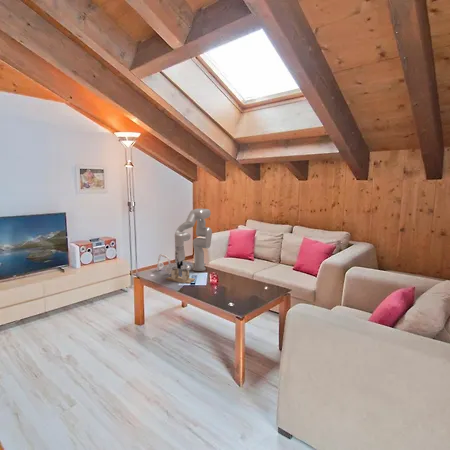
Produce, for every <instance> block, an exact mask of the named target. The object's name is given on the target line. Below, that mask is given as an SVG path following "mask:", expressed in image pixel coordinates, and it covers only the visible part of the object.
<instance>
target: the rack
mask: <svg viewBox="0 0 450 450" xmlns="http://www.w3.org/2000/svg"><path fill="white" fill-rule="evenodd" d="M179 270H180V269H176V268H172V270H171V274H170V276H169V277H166V278H165V281H169V282H175V283H182V284H187V285H188V284H191V283H193V282H195V281H196V278H195V277H194V278H193V277H190V270H189V271H186V270H184V269H182V271H181V276H180V273H179ZM194 280H195V281H194Z"/></svg>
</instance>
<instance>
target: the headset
mask: <svg viewBox="0 0 450 450" xmlns="http://www.w3.org/2000/svg"><path fill="white" fill-rule="evenodd" d="M161 257H163V258H167V263H168V264H170V263H171V260H170V257H169V256H168V255H166V254H165V253H164V254H163V253H161V254H159V256H158V258H157V259H158V261H157V264H156V267H157V269H156V272H159V271H160V270H163V268H164V262H162V261H161ZM164 269H165V273H167V275H168V276H169V275H170V276H171V270H172V268H170V267H169V265H167V266H165V268H164Z"/></svg>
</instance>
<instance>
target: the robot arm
mask: <svg viewBox="0 0 450 450" xmlns="http://www.w3.org/2000/svg"><path fill="white" fill-rule="evenodd" d="M211 214H212V213H211V210H210V209H209V208H194V209H192V210H190V212H189V214H188V215H187V218H186V219H185V222H183V223H181V224H180V225H179V226H178V227H177V228H176V231H175V233H174V264H177V269H178V270H182V269H181V265H184V261H185V260H186V254H185V253H186V251H185V244H184V242H188V241H189V240H191V234H190V233H189V232H185V230H189V229H191V228H193V227H194V226H195V224H196V229H195V235H196V236H197V237H195V238H194V239H193V240H192V245H193V250H194V251H193V254H194V260H193V261H194V267H193V268H192V270H193V271H194V272H203V271H206V269H207V268H206V267H205V266H206V263H205V250H204V249H209V248H210V247H211V244H212V236H213V230H212V228H211V227H209V226H208V227H207V226H206V224H207V223H206V219H208V218H210V217H211Z"/></svg>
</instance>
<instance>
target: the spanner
mask: <svg viewBox="0 0 450 450" xmlns="http://www.w3.org/2000/svg"><path fill="white" fill-rule="evenodd" d="M168 265H169V267H170V268H176V269H177V263H172V262H170V264H169V263H168ZM168 265H167V266H168ZM183 269H184V270H186V271H189V272H190V271H191V270H192V265H185V264H183V265H181V269H180V270H183Z"/></svg>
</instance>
